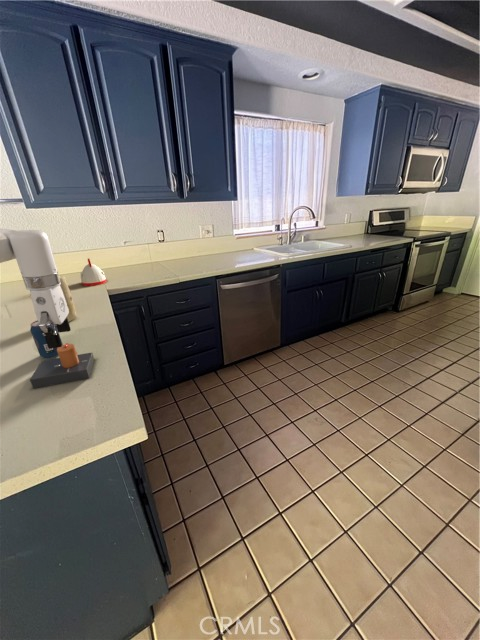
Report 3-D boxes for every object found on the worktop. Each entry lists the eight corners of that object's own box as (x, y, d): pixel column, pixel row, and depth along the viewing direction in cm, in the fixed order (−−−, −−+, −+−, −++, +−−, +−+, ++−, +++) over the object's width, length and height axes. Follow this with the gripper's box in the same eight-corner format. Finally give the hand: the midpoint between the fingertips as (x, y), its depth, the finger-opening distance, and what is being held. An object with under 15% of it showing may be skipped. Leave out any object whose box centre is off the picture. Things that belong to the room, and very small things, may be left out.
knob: (77, 366, 77) (71, 349, 75) (60, 368, 76) (54, 351, 74) (80, 358, 81) (75, 341, 79) (64, 361, 80) (58, 344, 78)
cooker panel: (33, 388, 73) (29, 379, 72) (44, 368, 82) (41, 360, 80) (89, 378, 77) (86, 369, 76) (94, 360, 86) (92, 351, 84)
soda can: (41, 352, 91) (29, 320, 86) (65, 347, 94) (54, 316, 89) (39, 362, 85) (26, 328, 80) (64, 356, 88) (53, 323, 83)
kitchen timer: (104, 278, 177) (99, 255, 170) (108, 283, 166) (102, 259, 160) (81, 281, 170) (75, 258, 164) (83, 287, 159) (76, 262, 153)
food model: (78, 315, 119) (65, 272, 111) (77, 321, 114) (64, 276, 106) (52, 320, 115) (37, 275, 107) (51, 326, 110) (34, 279, 102)
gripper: (49, 289, 62) (68, 351, 69) (67, 271, 77) (81, 324, 84) (10, 292, 60) (34, 356, 67) (36, 273, 74) (53, 327, 82)
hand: (60, 338), depth 75 cm, fingers open, 9 cm apart
